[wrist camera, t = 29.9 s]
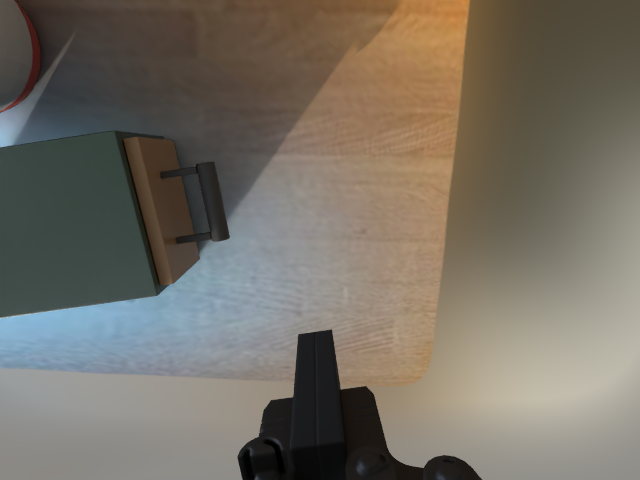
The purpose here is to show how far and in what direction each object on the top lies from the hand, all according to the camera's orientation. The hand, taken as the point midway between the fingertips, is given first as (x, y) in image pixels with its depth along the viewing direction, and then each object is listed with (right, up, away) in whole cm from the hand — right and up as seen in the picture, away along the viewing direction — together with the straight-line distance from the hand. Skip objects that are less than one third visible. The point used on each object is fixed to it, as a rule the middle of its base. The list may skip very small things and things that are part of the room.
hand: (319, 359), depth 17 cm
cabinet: (-23, +8, +23) cm, 33 cm away
